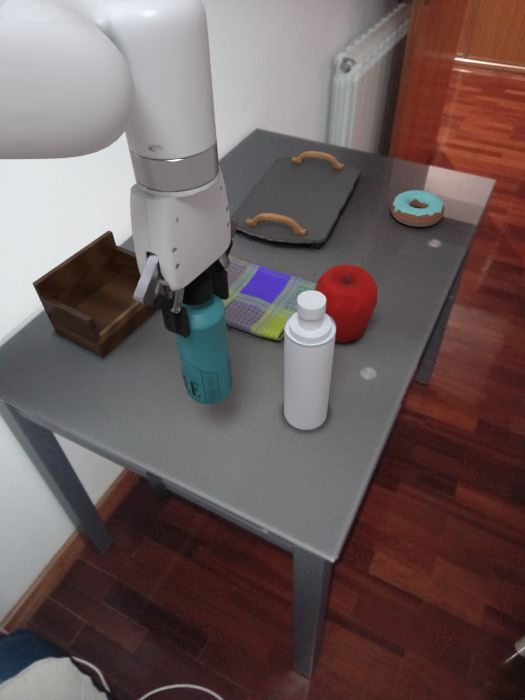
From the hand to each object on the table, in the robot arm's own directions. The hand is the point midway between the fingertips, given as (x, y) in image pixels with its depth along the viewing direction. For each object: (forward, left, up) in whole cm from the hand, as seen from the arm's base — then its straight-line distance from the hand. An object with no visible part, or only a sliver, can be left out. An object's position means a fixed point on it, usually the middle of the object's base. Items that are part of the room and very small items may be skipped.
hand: (198, 311), depth 56 cm
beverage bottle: (0, 0, -15) cm, 15 cm away
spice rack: (+11, +33, -25) cm, 43 cm away
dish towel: (+28, +14, -25) cm, 41 cm away
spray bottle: (+10, -9, -25) cm, 29 cm away
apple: (+29, -6, -25) cm, 39 cm away
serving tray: (+63, +22, -25) cm, 72 cm away
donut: (+72, -4, -25) cm, 77 cm away
